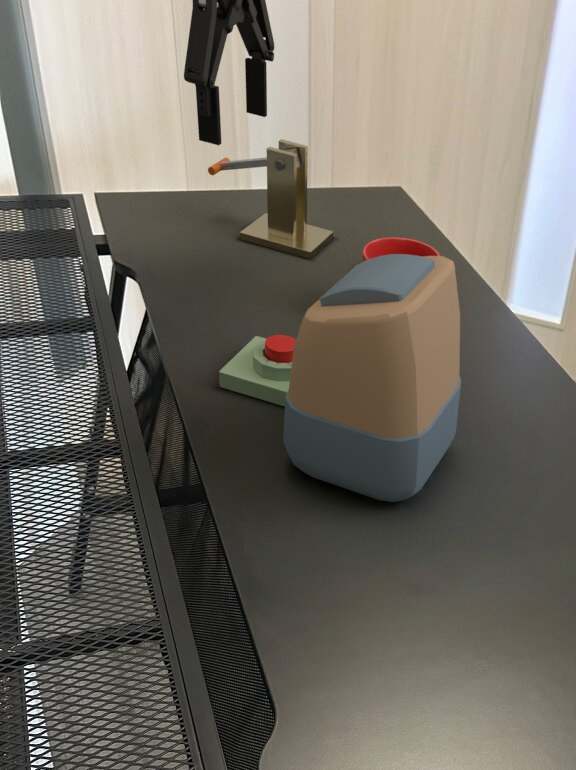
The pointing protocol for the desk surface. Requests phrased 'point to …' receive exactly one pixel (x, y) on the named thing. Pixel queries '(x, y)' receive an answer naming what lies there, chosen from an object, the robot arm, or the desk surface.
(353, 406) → the lidded trash bin
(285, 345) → the button
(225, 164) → the switch lever
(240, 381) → the button box
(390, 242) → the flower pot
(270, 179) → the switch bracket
